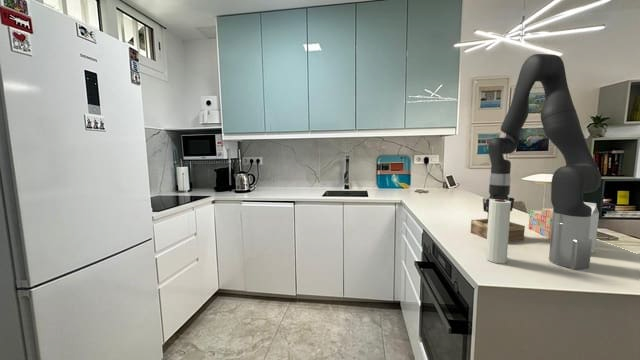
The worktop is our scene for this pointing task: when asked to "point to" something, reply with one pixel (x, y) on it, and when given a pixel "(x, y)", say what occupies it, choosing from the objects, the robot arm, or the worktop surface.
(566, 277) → the worktop surface
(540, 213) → the stack of blocks
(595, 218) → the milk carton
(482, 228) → the wooden tray
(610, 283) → the worktop surface
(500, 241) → the paper towel roll
